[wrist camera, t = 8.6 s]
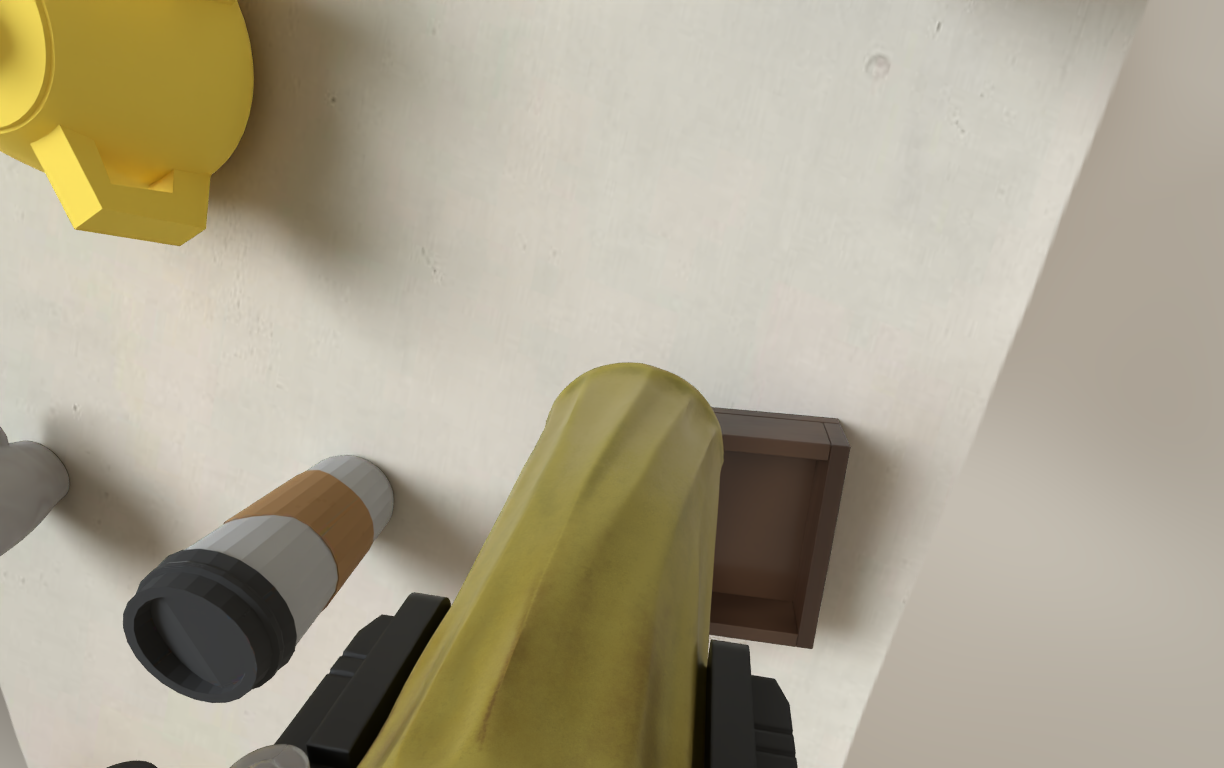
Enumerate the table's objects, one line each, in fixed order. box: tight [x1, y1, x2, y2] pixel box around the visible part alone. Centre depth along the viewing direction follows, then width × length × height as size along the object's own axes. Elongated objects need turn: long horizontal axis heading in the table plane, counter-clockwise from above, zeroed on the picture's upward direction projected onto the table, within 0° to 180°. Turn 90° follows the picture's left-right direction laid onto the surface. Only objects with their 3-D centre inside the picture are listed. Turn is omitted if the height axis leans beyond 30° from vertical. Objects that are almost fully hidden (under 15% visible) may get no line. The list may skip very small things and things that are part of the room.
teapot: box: [0, 0, 254, 246], centre depth 30 cm, size 17×17×12 cm
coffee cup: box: [123, 455, 394, 703], centre depth 37 cm, size 8×8×15 cm
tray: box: [709, 407, 851, 649], centre depth 38 cm, size 14×14×4 cm
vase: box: [357, 363, 724, 768], centre depth 15 cm, size 6×6×14 cm
